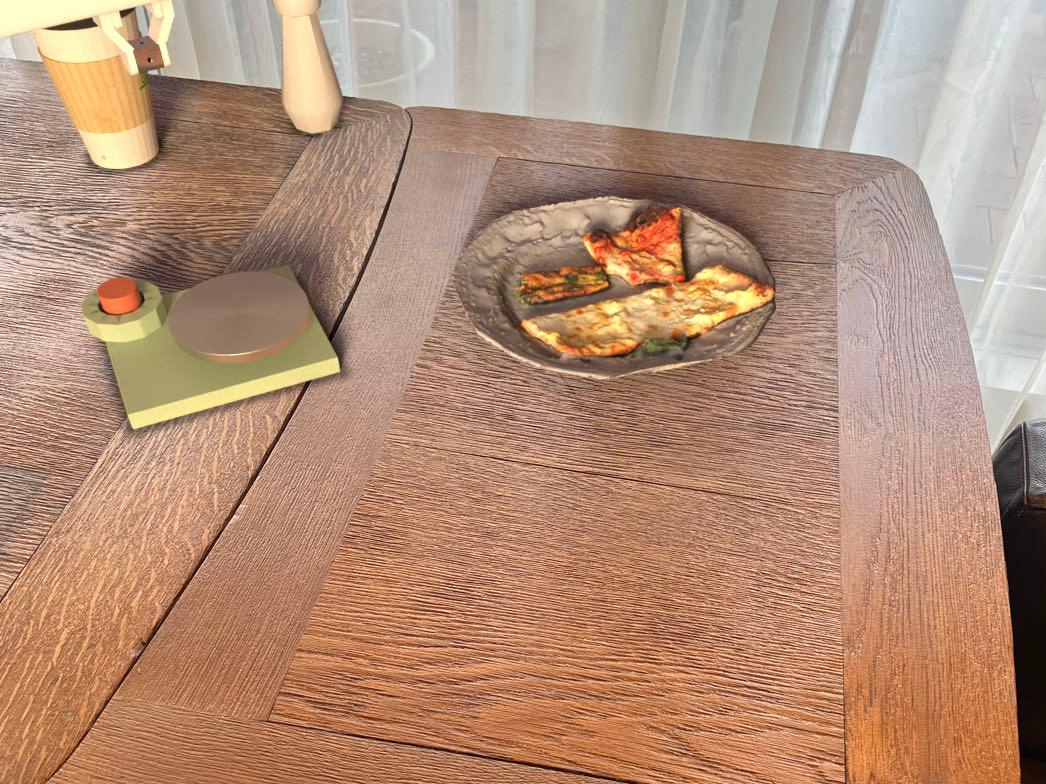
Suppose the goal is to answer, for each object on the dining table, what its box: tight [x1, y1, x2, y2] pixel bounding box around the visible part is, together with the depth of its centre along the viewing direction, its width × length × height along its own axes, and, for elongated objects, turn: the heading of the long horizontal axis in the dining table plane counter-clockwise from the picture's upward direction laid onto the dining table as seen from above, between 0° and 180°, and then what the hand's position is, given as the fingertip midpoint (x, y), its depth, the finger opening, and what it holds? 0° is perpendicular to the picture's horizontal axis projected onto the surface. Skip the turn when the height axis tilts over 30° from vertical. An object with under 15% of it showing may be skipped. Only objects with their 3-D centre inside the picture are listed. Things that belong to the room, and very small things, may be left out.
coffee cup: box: [30, 7, 160, 170], centre depth 91 cm, size 10×10×15 cm
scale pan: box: [168, 271, 311, 364], centre depth 75 cm, size 10×10×1 cm
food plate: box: [453, 195, 777, 381], centre depth 80 cm, size 25×23×4 cm
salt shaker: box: [271, 0, 344, 135], centre depth 96 cm, size 6×6×13 cm
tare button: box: [96, 276, 142, 316], centre depth 76 cm, size 3×3×2 cm
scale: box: [80, 264, 341, 430], centre depth 77 cm, size 16×14×3 cm
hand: (148, 68), depth 74 cm, fingers closed
